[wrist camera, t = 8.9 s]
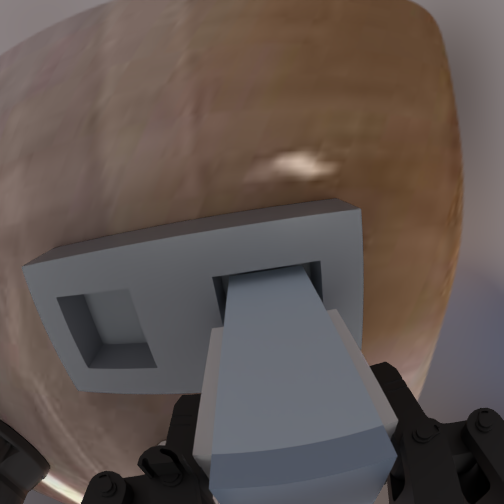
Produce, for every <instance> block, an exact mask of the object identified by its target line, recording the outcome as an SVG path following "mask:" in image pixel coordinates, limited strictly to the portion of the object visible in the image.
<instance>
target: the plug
mask: <svg viewBox="0 0 504 504" xmlns="http://www.w3.org/2000/svg"><path fill="white" fill-rule="evenodd" d="M396 458H397V454H396V452H395V449H394V447H393V445H392V443H391V441H390V438H389V436H388V434H387V432H386V430H385V428H384V425H383V423H382V421H381V419H380V417H379V415H378V413H377V410H376V408H375V406H374V404H373V402H372V400H371V398H370V396H369V394H368V392H367V390H366V388H365V386H364V384H363V381H362V379H361V377H360V375H359V373H358V371H357V369H356V367H355V365H354V363H353V361H352V359H351V357H350V355H349V353H348V351H347V349H346V347H345V345H344V344H343V342H342V340H341V338H340V336H339V334H338V332H337V330H336V328H335V326H334V324H333V322H332V320H331V318H330V316H329V315H328V313H327V311H326V309H325V307H324V305H323V303H322V301H321V299H320V298H319V296H318V294H317V292H316V290H315V288H314V286H313V285H312V283H311V281H310V279H309V277H308V275H307V274H306V272H305V270H304V268H303V266H302V265H299V266H293V267H286V268H280V269H274V270H267V271H261V272H254V273H248V274H241V275H234V276H229V284H228V292H227V301H226V310H225V319H224V328H223V338H222V347H221V357H220V367H219V377H218V387H217V398H216V408H215V419H214V431H213V442H212V454H211V467H210V480H209V490H210V491H211V493H212V494H213V495H214V497H215V498H216V499H217V501H218V502H219V503H220V504H373V503H374V502H375V500H376V498H377V496H378V494H379V493H380V491H381V489H382V487H383V485H384V483H385V481H386V479H387V477H388V475H389V473H390V471H391V469H392V467H393V465H394V462H395V460H396Z"/></svg>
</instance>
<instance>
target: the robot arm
mask: <svg viewBox="0 0 504 504" xmlns="http://www.w3.org/2000/svg"><path fill="white" fill-rule="evenodd" d="M327 313H328V315H329V316H330V318H331V320H332V322H333V324H334V326H335V328H336V330H337V332H338V334H339V336H340V338H341V340H342V342H343V344H344V345H345V347H346V349H347V351H348V353H349V355H350V357H351V359H352V361H353V363H354V365H355V367H356V369H357V371H358V373H359V375H360V377H361V379H362V381H363V384H364V386H365V388H366V390H367V392H368V394H369V396H370V398H371V400H372V402H373V404H374V406H375V408H376V410H377V413H378V415H379V417H380V419H381V421H382V423H383V425H384V428H385V430H386V432H387V434H388V436H389V438H390V441H391V443H392V445H393V447H394V449H395V452H396V454H397V458H396V460H395V462H394V465H393V467H392V469H391V471H390V473H389V475H388V477H387V479H386V481H385V483H384V485H385V484H386V482H387V484H388V485H387V486H388V495H389V504H504V420H503V419H502V418H501V417H500V415H499V414H498V413H496V412H495V411H494V410H492V409H489V408H480V409H477V410H475V411H473V412H472V413H471V414H470V415H469V417H468V419H467V420H466V421H460V422H455V423H446V424H442V423H439V422H438V421H436V420H435V419H432V418H428V417H427V416H426V415H425V413H424V412H423V410H422V409H421V407H420V405H419V404H418V402H417V400H416V399H415V397H414V396H413V394H412V392H411V391H410V389H409V388H408V387H407V385H406V383H405V381H404V380H402V377H401V375H400V374H399V372H398V371H397V369H396V368H395V367H393V366H392V365H390V364H389V363H387V362H383V363H379V364H376V365H372V366H369V365H368V363H367V361H366V360H365V358H364V356H363V354H362V352H361V351H360V349H359V347H358V345H357V344H356V342H355V340H354V338H353V337H352V335H351V333H350V331H349V330H348V328H347V326H346V324H345V323H344V321H343V319H342V318H341V316H340V314H339V313H338V311H337V309H332V310H327ZM223 328H224V327H218V328H212V331H211V337H210V343H209V349H208V355H207V361H206V367H205V373H204V380H203V386H202V393H201V394H195V395H182V396H181V397H180V399H179V400H178V401H177V403H176V404H175V405H174V410H173V414H172V418H171V422H170V427H169V431H168V435H167V440H166V444H165V445H158V446H154V447H151V448H149V449H148V450H146V451H145V452H144V453H143V454H142V455H141V456H140V458H139V461H138V464H137V465H138V466H139V467H140V468H141V470H142V471H143V472H144V473H145V474H144V475H140V476H134V477H127V478H122V477H121V476H120V475H119V474H117V473H115V472H113V471H104V472H101V473H98V474H97V475H95V476H94V477H93V478H92V479H91V481H90V482H89V485H88V487H87V490H86V492H85V495H84V497H83V500H82V502H81V504H216V503H215V501H214V499H213V494H212V493H211V491H210V490H209V480H210V467H211V454H212V442H213V431H214V419H215V408H216V398H217V387H218V377H219V367H220V357H221V347H222V338H223ZM49 469H50V467H49V465H48V463H47V462H46V460H45V459H44V458H43V457H42V456H41V454H40V453H39V452H38V451H37V450H36V449H35V448H33V447H32V446H31V445H30V444H29V443H28V442H27V441H26V440H25V439H23V438H22V437H21V436H20V435H19V434H17V433H16V432H15V431H14V430H12V429H11V428H10V427H9V426H7V425H6V424H4V423H3V422H2V421H0V504H23V503H24V500H25V498H26V496H27V494H28V492H29V491H30V490H32V489H33V488H34V487H35V486H36V485H37V484H38V483H39V482H40V481H41V480H42V479H44V478H45V477H46V476H47V474H48V472H49Z"/></svg>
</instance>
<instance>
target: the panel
mask: <svg viewBox="0 0 504 504" xmlns="http://www.w3.org/2000/svg"><path fill="white" fill-rule="evenodd" d="M299 265H302V266H303V268H304V270H305V272H306V274H307V275H308V277H309V279H310V281H311V283H312V285H313V286H314V288H315V290H316V292H317V294H318V296H319V298H320V299H321V301H322V303H323V305H324V307H325V309H326V311H327V310H332V309H337V311H338V313H339V314H340V316H341V318H342V319H343V321H344V323H345V324H346V326H347V328H348V330H349V331H350V333H351V335H352V337H353V338H354V340H355V342H356V344H357V345H358V347H359V349H360V351H361V345H362V326H363V237H362V218H361V209H360V208H358V207H356V206H353V205H351V204H349V203H346V202H344V201H342V200H339V199H337V198H335V199H327V200H319V201H311V202H304V203H296V204H289V205H282V206H275V207H268V208H261V209H255V210H248V211H242V212H235V213H229V214H223V215H217V216H211V217H205V218H199V219H194V220H188V221H183V222H177V223H172V224H166V225H161V226H156V227H150V228H145V229H140V230H135V231H130V232H125V233H120V234H115V235H111V236H106V237H101V238H97V239H92V240H87V241H83V242H79V243H74V244H70V245H65V246H61V247H57V248H53V249H51V250H49V251H48V252H46V253H44V254H42V255H41V256H39V257H37V258H35V259H34V260H32V261H30V262H29V263H27V264H25V265H23V266H22V270H23V273H24V276H25V279H26V282H27V285H28V288H29V290H30V293H31V296H32V298H33V301H34V303H35V306H36V308H37V311H38V313H39V316H40V318H41V320H42V323H43V325H44V327H45V329H46V332H47V334H48V336H49V338H50V340H51V342H52V344H53V346H54V348H55V350H56V352H57V354H58V356H59V358H60V360H61V362H62V364H63V366H64V367H65V369H66V371H67V373H68V375H69V376H70V378H71V380H72V382H73V383H74V385H75V387H76V388H77V390H78V391H86V392H99V393H117V394H184V393H202V386H203V380H204V373H205V367H206V361H207V355H208V349H209V343H210V337H211V331H212V328H218V327H224V319H225V310H226V301H227V292H228V284H229V276H234V275H241V274H248V273H254V272H261V271H267V270H274V269H280V268H286V267H293V266H299Z"/></svg>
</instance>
